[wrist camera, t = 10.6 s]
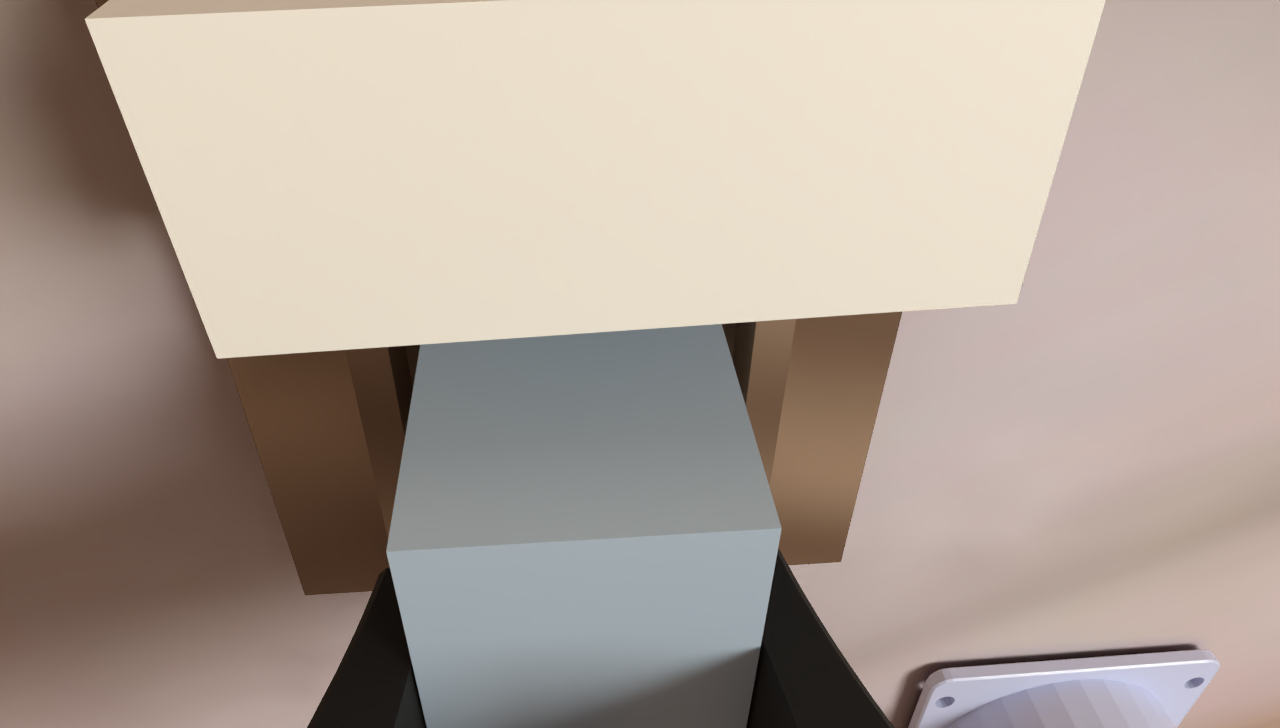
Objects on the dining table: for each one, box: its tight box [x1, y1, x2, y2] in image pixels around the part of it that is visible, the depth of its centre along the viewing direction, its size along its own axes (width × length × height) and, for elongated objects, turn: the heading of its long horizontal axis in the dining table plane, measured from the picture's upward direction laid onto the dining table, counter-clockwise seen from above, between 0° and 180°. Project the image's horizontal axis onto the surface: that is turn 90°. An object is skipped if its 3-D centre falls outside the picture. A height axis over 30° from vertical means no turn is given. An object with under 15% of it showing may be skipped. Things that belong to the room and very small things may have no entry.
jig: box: [96, 0, 902, 595], centre depth 14 cm, size 14×11×2 cm
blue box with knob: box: [386, 324, 782, 728], centre depth 12 cm, size 6×4×6 cm, turn 179°
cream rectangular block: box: [85, 0, 1106, 359], centre depth 10 cm, size 3×8×5 cm, turn 91°
